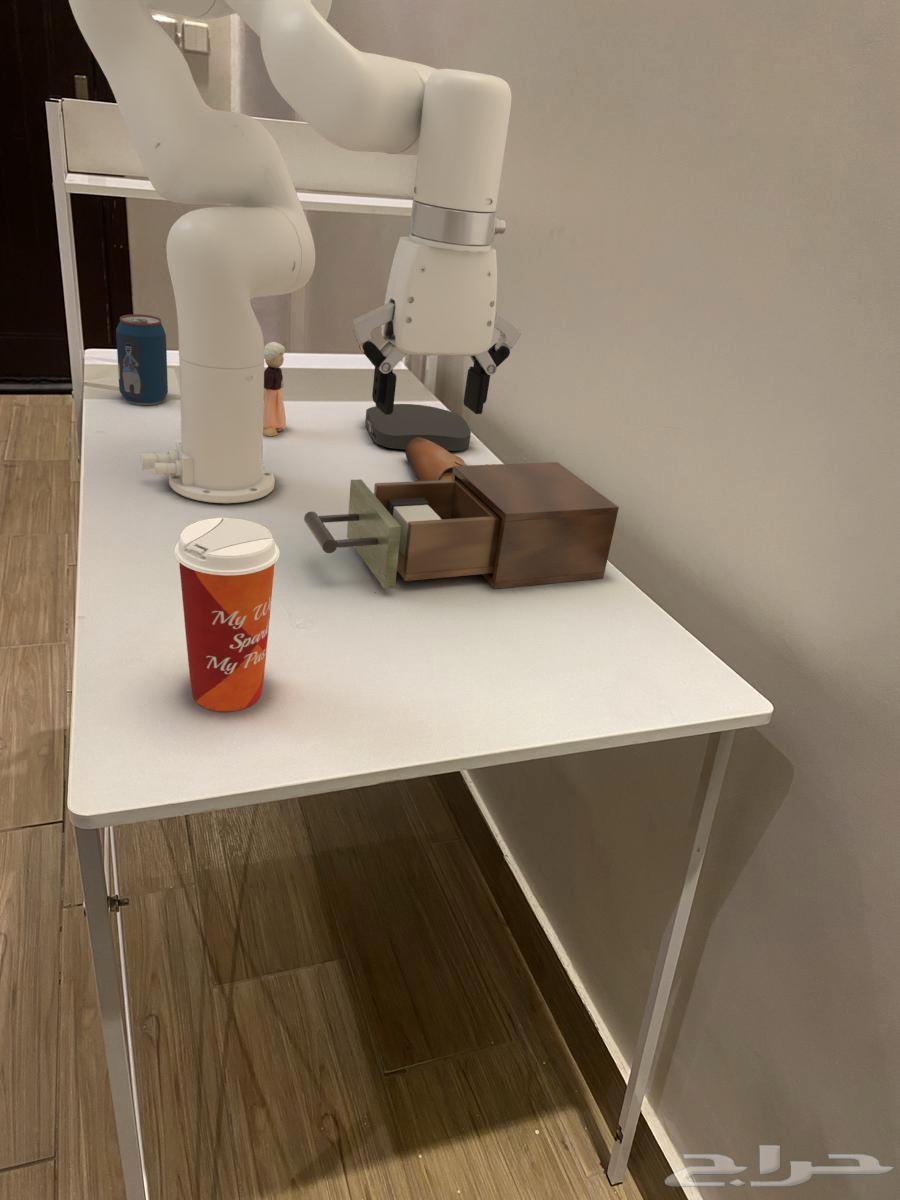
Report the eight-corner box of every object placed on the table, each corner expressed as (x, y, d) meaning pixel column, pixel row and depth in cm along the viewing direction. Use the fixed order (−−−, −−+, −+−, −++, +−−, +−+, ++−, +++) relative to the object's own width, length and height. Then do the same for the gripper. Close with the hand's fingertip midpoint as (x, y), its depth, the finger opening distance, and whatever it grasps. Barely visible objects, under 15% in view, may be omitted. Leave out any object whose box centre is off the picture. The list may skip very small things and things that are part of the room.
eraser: (447, 563, 95) (452, 527, 93) (410, 566, 94) (414, 529, 92) (419, 531, 102) (423, 496, 100) (384, 534, 100) (387, 498, 98)
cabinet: (494, 589, 96) (506, 514, 92) (444, 535, 106) (453, 465, 102) (603, 578, 101) (619, 507, 97) (545, 528, 112) (557, 461, 108)
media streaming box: (474, 454, 133) (477, 434, 132) (376, 451, 129) (377, 431, 128) (452, 422, 145) (454, 404, 144) (361, 418, 142) (362, 400, 140)
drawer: (328, 594, 89) (332, 530, 85) (295, 540, 98) (298, 481, 95) (495, 578, 96) (504, 519, 93) (449, 530, 106) (456, 475, 102)
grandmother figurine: (280, 439, 129) (283, 350, 123) (253, 436, 129) (255, 346, 123) (290, 423, 136) (292, 337, 130) (264, 420, 135) (266, 334, 129)
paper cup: (228, 732, 69) (228, 568, 63) (157, 693, 73) (150, 534, 66) (295, 688, 76) (302, 535, 69) (227, 655, 79) (227, 506, 72)
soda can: (166, 393, 142) (164, 314, 136) (169, 407, 136) (167, 325, 130) (119, 392, 139) (114, 312, 134) (120, 406, 134) (115, 323, 128)
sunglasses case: (493, 509, 114) (472, 465, 110) (443, 534, 114) (421, 491, 110) (462, 459, 129) (443, 419, 125) (418, 481, 129) (397, 442, 126)
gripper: (516, 228, 89) (489, 398, 97) (347, 212, 82) (334, 398, 90) (553, 242, 83) (522, 422, 91) (376, 227, 76) (358, 423, 84)
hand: (428, 410), depth 91 cm, fingers open, 9 cm apart
